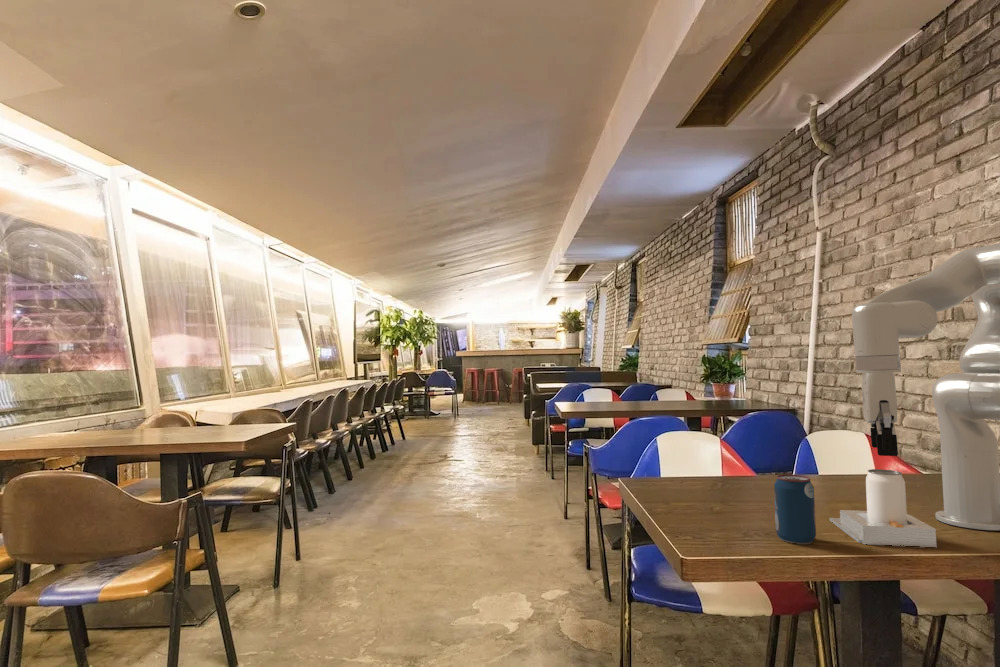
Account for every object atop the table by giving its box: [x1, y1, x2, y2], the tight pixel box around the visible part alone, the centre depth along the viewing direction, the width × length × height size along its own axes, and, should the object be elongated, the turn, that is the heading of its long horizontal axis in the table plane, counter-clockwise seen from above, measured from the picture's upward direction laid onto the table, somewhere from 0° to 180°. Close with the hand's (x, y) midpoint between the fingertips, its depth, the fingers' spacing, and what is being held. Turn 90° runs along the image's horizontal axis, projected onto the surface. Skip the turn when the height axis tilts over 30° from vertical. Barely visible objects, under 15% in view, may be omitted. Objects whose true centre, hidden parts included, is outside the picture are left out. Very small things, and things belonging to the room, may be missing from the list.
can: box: [865, 468, 908, 524], centre depth 113 cm, size 6×6×12 cm
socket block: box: [829, 509, 938, 549], centre depth 115 cm, size 13×17×4 cm
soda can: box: [773, 474, 817, 545], centre depth 111 cm, size 7×7×12 cm
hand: (884, 451), depth 114 cm, fingers open, 9 cm apart
